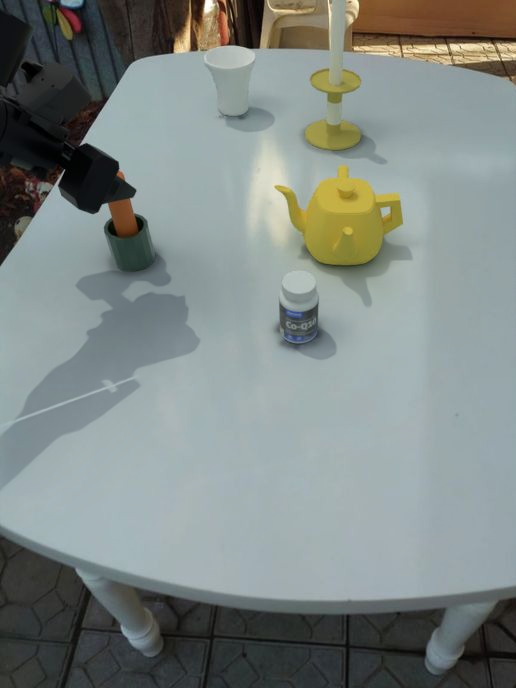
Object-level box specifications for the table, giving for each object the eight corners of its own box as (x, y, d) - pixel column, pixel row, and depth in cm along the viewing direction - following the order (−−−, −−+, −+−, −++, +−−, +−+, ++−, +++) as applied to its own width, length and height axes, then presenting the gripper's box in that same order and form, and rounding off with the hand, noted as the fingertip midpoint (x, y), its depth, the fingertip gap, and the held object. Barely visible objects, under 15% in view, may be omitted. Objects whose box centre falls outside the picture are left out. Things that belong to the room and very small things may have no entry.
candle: (362, 151, 101) (378, -28, 80) (304, 149, 100) (305, -30, 80) (360, 121, 107) (374, -51, 87) (305, 119, 107) (306, -53, 86)
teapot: (275, 242, 84) (272, 183, 77) (340, 204, 91) (343, 145, 83) (344, 291, 78) (348, 232, 71) (408, 246, 85) (418, 187, 77)
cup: (201, 104, 109) (194, 49, 102) (247, 94, 112) (243, 40, 105) (219, 127, 104) (212, 70, 97) (266, 116, 107) (264, 60, 100)
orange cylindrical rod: (137, 263, 80) (116, 184, 70) (119, 259, 80) (95, 180, 71) (148, 251, 82) (128, 172, 72) (130, 246, 82) (108, 167, 73)
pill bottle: (284, 348, 72) (283, 299, 65) (276, 320, 74) (274, 271, 68) (322, 340, 72) (324, 292, 66) (312, 314, 75) (313, 264, 69)
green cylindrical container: (115, 274, 79) (105, 242, 75) (112, 248, 82) (102, 216, 78) (157, 267, 80) (150, 235, 76) (152, 241, 84) (144, 209, 79)
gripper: (75, 80, 52) (191, 147, 66) (-25, 18, 60) (97, 89, 74) (24, 192, 54) (146, 234, 68) (-66, 118, 62) (60, 169, 76)
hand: (112, 177), depth 72 cm, fingers open, 9 cm apart
